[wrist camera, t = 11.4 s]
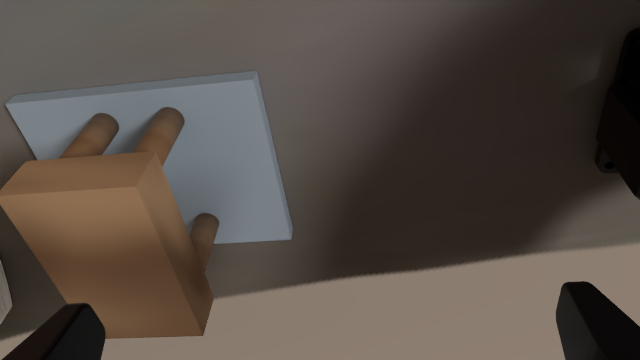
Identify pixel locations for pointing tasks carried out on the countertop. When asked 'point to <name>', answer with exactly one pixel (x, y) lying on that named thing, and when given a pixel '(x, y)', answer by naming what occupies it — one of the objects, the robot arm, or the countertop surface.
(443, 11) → the countertop surface
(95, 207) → the block with dowel legs
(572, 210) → the countertop surface
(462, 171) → the countertop surface
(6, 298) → the syrup box
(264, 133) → the board
